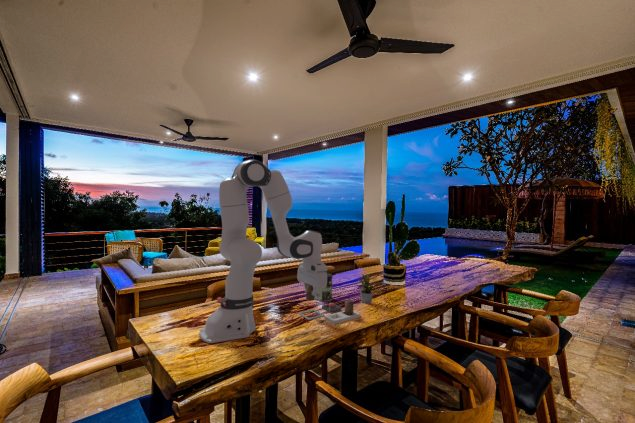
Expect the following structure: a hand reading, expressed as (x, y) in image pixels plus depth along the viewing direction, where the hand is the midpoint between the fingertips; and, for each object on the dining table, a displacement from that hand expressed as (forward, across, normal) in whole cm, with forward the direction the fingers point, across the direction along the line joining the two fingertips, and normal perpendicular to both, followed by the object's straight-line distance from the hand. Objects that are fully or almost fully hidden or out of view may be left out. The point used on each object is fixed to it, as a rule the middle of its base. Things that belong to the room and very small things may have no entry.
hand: (310, 293), depth 141 cm
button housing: (+11, -1, +14) cm, 18 cm away
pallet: (+11, +11, +11) cm, 19 cm away
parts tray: (+11, 0, +1) cm, 11 cm away
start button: (+10, -1, +14) cm, 17 cm away
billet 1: (+2, 0, 0) cm, 2 cm away
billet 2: (+10, +11, +15) cm, 21 cm away
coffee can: (+11, -19, +22) cm, 31 cm away
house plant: (+10, -2, +38) cm, 39 cm away
